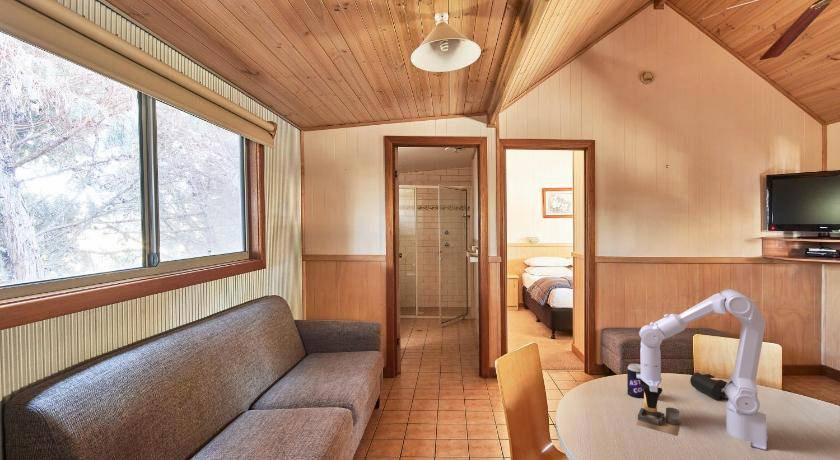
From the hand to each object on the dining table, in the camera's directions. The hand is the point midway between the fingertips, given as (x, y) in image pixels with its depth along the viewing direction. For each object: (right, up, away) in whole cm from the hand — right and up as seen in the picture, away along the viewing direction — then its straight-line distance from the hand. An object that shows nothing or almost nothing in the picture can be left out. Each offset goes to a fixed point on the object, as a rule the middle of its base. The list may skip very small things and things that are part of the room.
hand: (650, 404), depth 127 cm
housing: (+1, -6, -2) cm, 7 cm away
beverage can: (+5, -6, +18) cm, 19 cm away
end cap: (+33, -5, +18) cm, 38 cm away
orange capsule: (0, -2, 0) cm, 2 cm away
